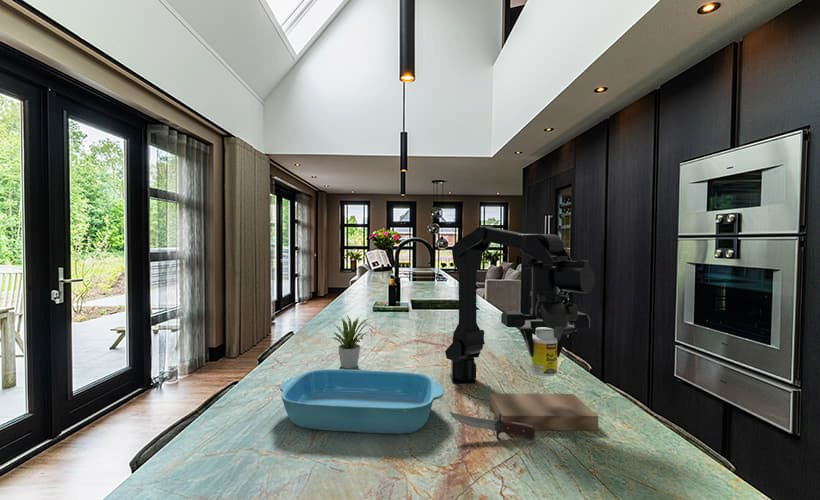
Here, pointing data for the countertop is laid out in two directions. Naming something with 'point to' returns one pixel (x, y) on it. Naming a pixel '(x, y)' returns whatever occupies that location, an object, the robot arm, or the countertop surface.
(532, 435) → the knife
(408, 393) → the casserole dish
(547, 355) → the supplement bottle
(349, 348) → the house plant
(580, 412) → the walnut stand
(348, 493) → the countertop surface
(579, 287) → the robot arm
